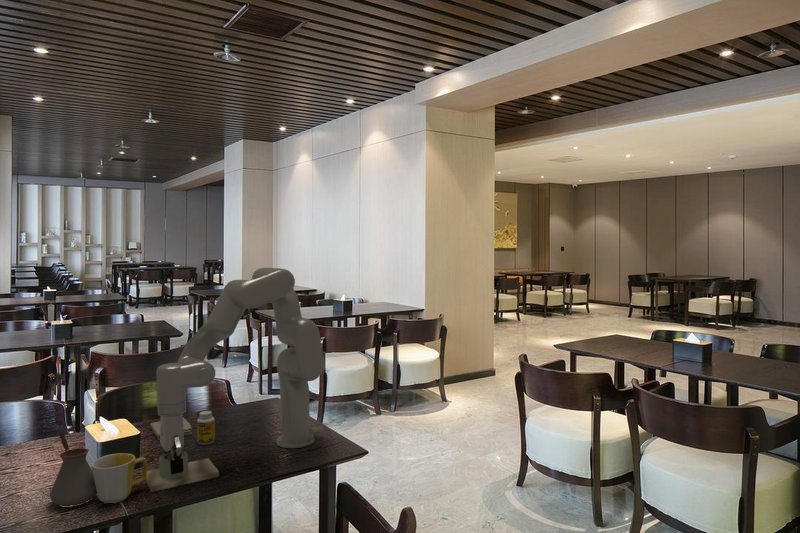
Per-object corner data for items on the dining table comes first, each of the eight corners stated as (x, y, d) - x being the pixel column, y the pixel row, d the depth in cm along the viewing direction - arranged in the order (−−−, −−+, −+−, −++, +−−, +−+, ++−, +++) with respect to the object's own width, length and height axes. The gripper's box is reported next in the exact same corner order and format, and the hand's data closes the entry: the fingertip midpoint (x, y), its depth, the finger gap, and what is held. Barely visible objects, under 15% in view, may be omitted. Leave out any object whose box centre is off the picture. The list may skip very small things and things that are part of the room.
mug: (97, 512, 142) (96, 471, 141) (88, 498, 150) (87, 459, 149) (154, 496, 151) (153, 457, 150) (143, 484, 158) (142, 446, 158)
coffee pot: (106, 501, 148) (103, 444, 147) (55, 516, 140) (52, 456, 140) (85, 476, 164) (83, 425, 163) (38, 488, 156) (36, 435, 156)
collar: (184, 466, 167) (183, 449, 166) (190, 474, 161) (189, 457, 160) (158, 471, 163) (157, 454, 163) (162, 480, 157) (162, 462, 157)
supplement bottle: (195, 445, 188) (195, 415, 187) (199, 440, 193) (198, 410, 193) (213, 444, 189) (212, 414, 188) (216, 439, 194) (215, 409, 194)
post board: (208, 463, 173) (207, 438, 172) (218, 476, 163) (218, 450, 162) (144, 476, 163) (143, 451, 163) (151, 492, 153) (150, 464, 153)
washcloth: (158, 443, 193) (158, 434, 192) (148, 429, 207) (148, 420, 207) (194, 435, 199) (194, 427, 199) (182, 422, 214) (182, 414, 214)
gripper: (152, 402, 166) (154, 460, 167) (163, 417, 152) (165, 481, 152) (179, 398, 170) (181, 455, 171) (192, 412, 156) (194, 474, 156)
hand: (173, 467), depth 162 cm, fingers open, 9 cm apart
